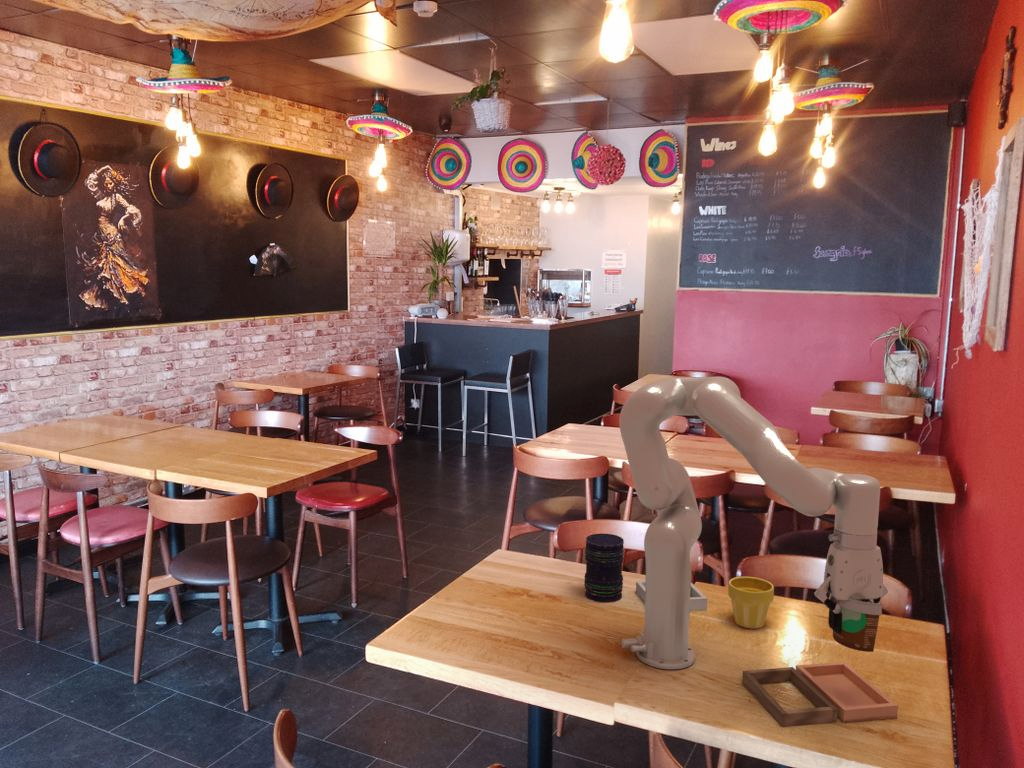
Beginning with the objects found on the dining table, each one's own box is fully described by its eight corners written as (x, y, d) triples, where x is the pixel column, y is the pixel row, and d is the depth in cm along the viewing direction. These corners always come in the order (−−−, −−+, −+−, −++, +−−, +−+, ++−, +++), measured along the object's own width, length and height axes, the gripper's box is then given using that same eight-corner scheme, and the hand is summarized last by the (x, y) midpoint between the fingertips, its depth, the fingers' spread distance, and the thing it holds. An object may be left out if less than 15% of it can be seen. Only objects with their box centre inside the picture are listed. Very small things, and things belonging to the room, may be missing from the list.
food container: (814, 627, 157) (818, 579, 156) (843, 626, 158) (847, 579, 157) (846, 656, 145) (851, 605, 144) (877, 655, 146) (882, 604, 144)
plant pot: (731, 610, 193) (732, 572, 191) (774, 618, 188) (776, 580, 187) (722, 627, 183) (724, 587, 182) (768, 636, 179) (770, 595, 178)
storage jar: (624, 589, 205) (625, 535, 203) (620, 604, 195) (622, 547, 193) (586, 586, 207) (588, 532, 205) (581, 600, 198) (582, 544, 196)
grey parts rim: (653, 613, 191) (653, 601, 190) (635, 592, 203) (636, 581, 203) (706, 609, 193) (707, 598, 193) (686, 589, 206) (687, 578, 205)
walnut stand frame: (781, 726, 142) (782, 714, 142) (742, 682, 158) (742, 670, 158) (836, 721, 144) (837, 709, 144) (792, 678, 160) (792, 667, 160)
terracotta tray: (843, 722, 144) (844, 710, 144) (795, 676, 160) (796, 665, 160) (897, 717, 146) (898, 705, 145) (844, 673, 162) (844, 661, 162)
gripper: (825, 547, 144) (819, 641, 146) (908, 543, 147) (901, 634, 149) (803, 535, 151) (798, 623, 153) (883, 530, 154) (876, 618, 156)
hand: (849, 628), depth 151 cm, fingers closed on food container, 5 cm apart
